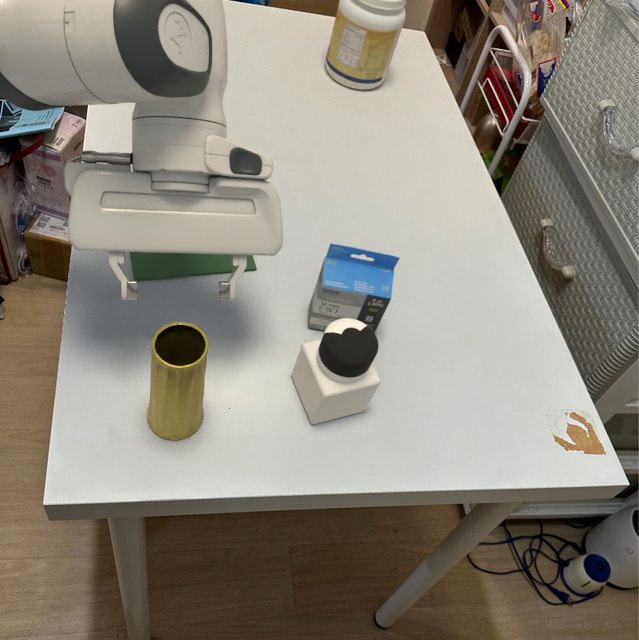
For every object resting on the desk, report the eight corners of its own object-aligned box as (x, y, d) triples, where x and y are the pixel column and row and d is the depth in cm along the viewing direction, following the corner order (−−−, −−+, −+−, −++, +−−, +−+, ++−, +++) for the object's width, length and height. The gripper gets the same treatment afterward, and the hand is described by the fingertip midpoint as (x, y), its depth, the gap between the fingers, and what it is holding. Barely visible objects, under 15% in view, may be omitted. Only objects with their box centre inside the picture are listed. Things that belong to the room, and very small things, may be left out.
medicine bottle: (364, 411, 73) (396, 358, 63) (310, 426, 70) (335, 372, 60) (342, 362, 76) (369, 305, 67) (290, 374, 73) (310, 316, 64)
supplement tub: (340, 48, 122) (362, -41, 108) (393, 74, 120) (423, -13, 107) (312, 73, 114) (333, -19, 101) (369, 100, 113) (398, 11, 100)
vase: (206, 394, 69) (217, 322, 58) (199, 443, 66) (208, 376, 54) (152, 387, 68) (152, 312, 57) (141, 437, 65) (139, 367, 54)
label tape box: (306, 328, 78) (328, 266, 69) (308, 304, 81) (329, 240, 71) (371, 340, 79) (402, 280, 70) (372, 316, 82) (401, 255, 72)
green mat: (134, 281, 77) (134, 279, 76) (121, 203, 84) (121, 201, 84) (256, 270, 82) (256, 268, 82) (234, 198, 89) (234, 196, 89)
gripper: (58, 144, 52) (62, 302, 54) (289, 161, 58) (284, 304, 60) (68, 152, 58) (71, 294, 60) (276, 166, 64) (272, 296, 66)
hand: (179, 299), depth 60 cm, fingers open, 8 cm apart
